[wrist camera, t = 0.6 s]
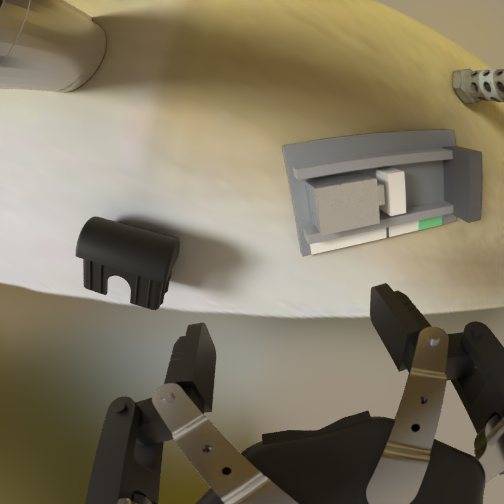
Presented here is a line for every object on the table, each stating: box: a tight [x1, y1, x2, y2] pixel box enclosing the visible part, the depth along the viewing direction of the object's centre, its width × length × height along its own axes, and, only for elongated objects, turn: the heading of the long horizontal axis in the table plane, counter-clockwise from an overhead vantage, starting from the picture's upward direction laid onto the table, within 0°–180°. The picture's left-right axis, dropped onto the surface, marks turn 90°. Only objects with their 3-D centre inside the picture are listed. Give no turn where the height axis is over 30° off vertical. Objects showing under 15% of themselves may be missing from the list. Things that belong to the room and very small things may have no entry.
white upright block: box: [376, 167, 406, 216], centre depth 26 cm, size 4×2×3 cm, turn 12°
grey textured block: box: [305, 172, 385, 236], centre depth 25 cm, size 4×8×4 cm, turn 102°
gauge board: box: [282, 130, 482, 256], centre depth 25 cm, size 12×22×6 cm, turn 102°
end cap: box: [76, 217, 180, 310], centre depth 27 cm, size 10×7×7 cm
